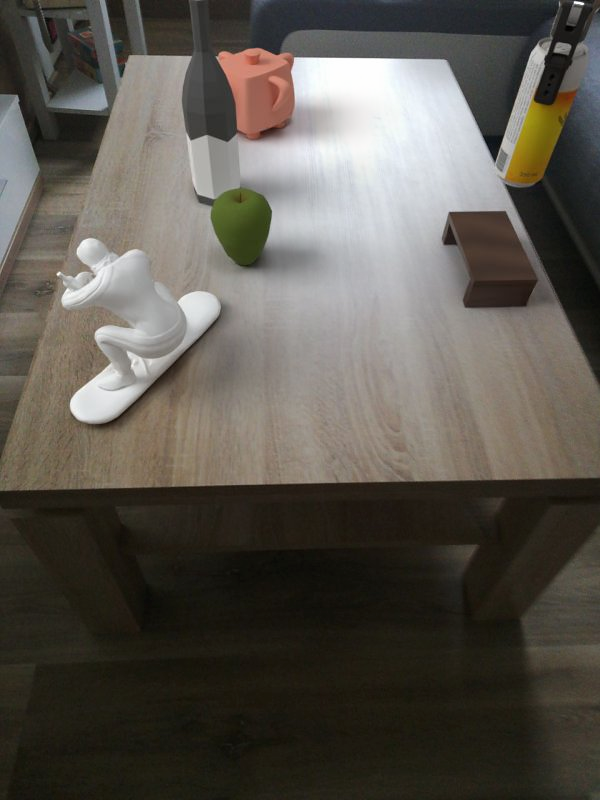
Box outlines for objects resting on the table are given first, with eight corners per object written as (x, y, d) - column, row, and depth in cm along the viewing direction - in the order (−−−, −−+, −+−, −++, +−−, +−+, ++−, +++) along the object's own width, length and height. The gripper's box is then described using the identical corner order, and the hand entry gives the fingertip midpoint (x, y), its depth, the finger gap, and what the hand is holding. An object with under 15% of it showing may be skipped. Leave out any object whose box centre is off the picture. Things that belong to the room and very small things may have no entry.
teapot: (293, 106, 116) (294, 34, 105) (295, 145, 106) (296, 71, 96) (212, 105, 115) (205, 33, 105) (206, 145, 105) (198, 70, 95)
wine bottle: (243, 181, 98) (231, -25, 74) (239, 208, 93) (224, -4, 70) (197, 179, 98) (170, -28, 74) (190, 206, 93) (159, -6, 70)
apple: (272, 242, 88) (271, 174, 79) (272, 277, 83) (271, 210, 74) (217, 242, 88) (209, 174, 79) (214, 277, 83) (205, 209, 74)
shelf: (525, 306, 81) (538, 279, 77) (465, 307, 80) (474, 280, 76) (495, 237, 90) (505, 210, 86) (441, 238, 90) (448, 211, 86)
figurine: (173, 283, 82) (151, 177, 68) (245, 317, 78) (237, 211, 64) (38, 400, 68) (-21, 297, 55) (118, 448, 64) (74, 349, 51)
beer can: (550, 184, 71) (605, 54, 59) (510, 193, 69) (558, 62, 57) (522, 160, 74) (568, 32, 62) (483, 168, 72) (522, 39, 60)
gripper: (660, -82, 45) (573, 126, 58) (667, -117, 53) (589, 72, 66) (565, -95, 47) (501, 110, 60) (586, -127, 55) (526, 59, 68)
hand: (548, 89), depth 63 cm, fingers closed on beer can, 6 cm apart
